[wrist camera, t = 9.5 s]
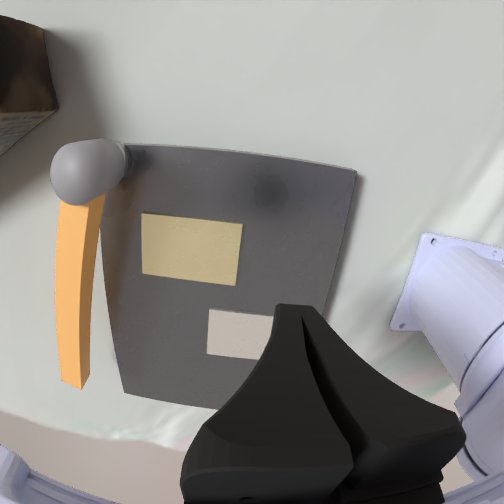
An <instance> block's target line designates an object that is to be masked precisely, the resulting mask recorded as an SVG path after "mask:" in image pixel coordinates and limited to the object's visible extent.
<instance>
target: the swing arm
mask: <svg viewBox="0 0 504 504" xmlns="http://www.w3.org/2000/svg"><path fill="white" fill-rule="evenodd" d="M124 170H125V160H124V156H123V153H122V151H121V149H120V148H119V146H118V145H117V144H116V143H115V142H113V141H112V140H109V139H106V138H97V139H91V140H84V141H79V142H73V143H69V144H66V145H64V146H63V147H61V148H60V149H59V150H58V151H57V153H56V154H55V156H54V158H53V160H52V163H51V169H50V178H51V183H52V186H53V189H54V191H55V193H56V194H57V196H58V197H59V198H60V208H59V217H58V228H57V241H56V261H55V312H56V331H57V345H58V355H59V364H60V372H61V380H62V381H64V382H66V383H68V384H70V385H72V386H74V387H76V388H78V389H80V390H82V388H83V386H84V384H85V383H86V381H87V379H88V377H89V375H90V320H91V302H92V288H93V277H94V267H95V258H96V250H97V243H98V236H99V229H100V223H101V217H102V211H103V205H104V200H105V195H106V192H108V191H110V190H112V189H113V188H115V187H116V186H117V185H118V184H119V182H120V181H121V179H122V177H123V174H124Z"/></svg>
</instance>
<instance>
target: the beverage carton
mask: <svg viewBox="0 0 504 504" xmlns="http://www.w3.org/2000/svg"><path fill="white" fill-rule="evenodd" d="M57 110H58V105H57V101H56V97H55V92H54V89H53V86H52V82H51V76H50V71H49V67H48V59H47V54H46V48H45V42H44V34H43V29H42V28H40V27H38V26H35V25H32V24H29V23H26V22H24V21H20V20H16V19H14V18H10V17H6V16H2V15H0V156H1V155H2V154H3V153H4V152H6V151H7V150H8V149H9V148H10V147H11V146H12V145H14V144H15V143H16V142H17V141H18V140H20V139H21V138H22V137H23V136H24V135H25V134H27V133H28V132H29V131H30V130H32V129H33V128H34V127H35V126H37V125H38V124H39V123H41V122H42V121H44V120H45V119H46V118H47V117H48V116H49V115H51V114H52V113H54V112H56V111H57Z"/></svg>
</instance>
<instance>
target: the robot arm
mask: <svg viewBox="0 0 504 504" xmlns="http://www.w3.org/2000/svg"><path fill="white" fill-rule="evenodd" d="M433 238H434V241H433V242H432V243H431V240H432V239H433ZM493 252H494V253H493ZM503 258H504V250H503V249H502V248H499V247H495V246H491V245H486V244H482V243H477V242H473V241H468V240H464V239H459V238H454V237H449V236H445V235H440V234H435V233H430V232H425V233H424V234H423V235H422V236H421V238H420V241H419V245H418V248H417V251H416V254H415V258H414V261H413V264H412V267H411V270H410V273H409V275H408V278H407V281H406V284H405V287H404V289H403V292H402V295H401V297H400V300H399V303H398V305H397V308H396V310H395V313H394V315H393V318H392V320H391V323H390V327H391V329H392V330H394V331H422V332H423V334H424V335H425V337H426V338H427V340H428V341H429V343H430V344H431V346H432V347H433V349H434V351H435V352H436V354H437V355H438V357H439V358H440V360H441V362H442V363H443V365H444V366H445V368H446V370H447V371H448V373H449V375H450V376H451V378H452V379H453V381H454V383H455V384H456V386H457V388H458V389H459V391H460V395H459V397H458V399H457V400H456V401H455V403H454V404H455V406H456V408H457V410H458V412H459V414H460V417H459V418H458V417H457V415H456V413H455V412H453V411H450V410H447V409H445V408H442V407H440V406H437V405H435V404H432V403H430V402H428V401H426V400H424V399H422V398H420V397H418V396H416V395H414V394H412V393H410V392H408V391H406V390H405V389H403V388H401V387H400V386H398V385H397V384H395V383H393V382H392V381H390V380H389V379H387V378H386V377H384V376H383V375H382V374H380V373H379V372H378V371H376V370H375V369H374V368H373V367H371V366H370V365H369V364H368V363H366V362H365V361H364V360H363V359H362V358H361V357H359V356H358V355H357V354H356V353H355V352H354V351H353V350H352V349H351V348H350V347H349V346H348V345H347V344H346V343H345V342H344V341H343V340H342V339H341V338H340V337H339V336H338V335H337V333H336V332H335V331H334V330H333V329H332V328H331V327H330V326H329V324H328V323H327V322H326V321H325V320H324V319H323V317H322V316H321V315H320V314H319V313H318V311H317V310H316V309H315V308H314V307H313V306H310V305H296V304H283V303H279V304H277V305H276V306H275V312H274V318H273V324H272V330H271V335H270V338H269V340H268V343H267V345H266V347H265V349H264V351H263V353H262V355H261V357H260V359H259V360H258V362H257V364H256V365H255V367H254V369H253V370H252V372H251V373H250V374H249V376H248V377H247V379H246V380H245V382H244V383H243V384H242V385H241V387H240V388H239V389H238V390H237V391H236V392H235V394H234V395H233V396H232V397H231V398H230V399H229V400H228V401H227V402H226V404H225V405H224V406H223V407H222V408H221V409H219V410H218V411H217V412H216V413H215V414H214V415H213V416H212V417H210V418H209V419H208V420H207V421H206V422H205V423H204V424H203V425H202V427H201V428H200V430H199V431H198V433H197V435H196V436H195V438H194V440H193V442H192V443H191V445H190V447H189V449H188V451H187V453H186V456H185V458H184V461H183V465H182V471H181V478H180V487H181V491H182V494H183V498H184V504H504V263H503V262H502V261H503ZM402 323H403V324H402ZM401 324H402V325H401ZM400 325H401V326H400ZM455 456H457V459H458V461H459V463H460V465H461V467H462V468H463V470H464V471H465V472H466V473H467V475H468V476H469V477H471V478H472V479H473V480H474V481H475V482H473V483H471V484H468V485H466V486H464V487H461V488H459V489H456V490H454V491H451V492H448V493H446V494H443V493H442V490H441V487H440V484H439V482H441V481H442V480H443V475H442V472H441V469H442V468H443V467H444V466H445V465H446V464H447V463H448V462H449V461H451V460H452V459H453V458H454V457H455ZM0 504H119V503H116V502H113V501H109V500H106V499H103V498H100V497H97V496H94V495H91V494H88V493H86V492H83V491H80V490H78V489H75V488H73V487H70V486H68V485H65V484H63V483H61V482H58V481H56V480H54V479H52V478H49V477H47V476H45V475H43V474H41V473H39V472H37V471H34V470H33V469H31V468H30V467H29V465H28V464H27V463H26V462H25V461H24V460H23V459H22V458H21V457H20V456H19V455H17V454H16V453H14V452H13V451H11V450H9V449H8V448H6V447H4V446H2V445H1V444H0Z"/></svg>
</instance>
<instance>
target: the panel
mask: <svg viewBox="0 0 504 504" xmlns="http://www.w3.org/2000/svg"><path fill="white" fill-rule="evenodd" d="M113 142H115V143H116V144H117V145H118V146H119V148H120V149H121V151H122V153H123V156H124V160H125V170H124V174H123V177H122V179H121V181H120V182H119V184H118V185H117V186H116V187H115V188H113V189H112V190H110V191H108V192H106V195H105V200H104V205H103V211H102V217H101V223H100V233H101V248H102V261H103V271H104V281H105V290H106V298H107V305H108V312H109V319H110V325H111V331H112V337H113V342H114V348H115V353H116V358H117V363H118V367H119V372H120V376H121V381H122V385H123V389H124V393H128V394H132V395H136V396H141V397H145V398H150V399H155V400H160V401H166V402H171V403H177V404H183V405H189V406H196V407H203V408H210V409H218V410H219V409H221V408H222V407H223V406H224V405H225V404H226V402H227V401H228V400H229V399H230V398H231V397H232V396H233V395H234V394H235V392H236V391H237V390H238V389H239V388H240V387H241V385H242V384H243V383H244V382H245V380H246V379H247V377H248V376H249V374H250V373H251V372H252V370H253V369H254V367H255V365H256V364H257V362H258V360H259V359H260V357H261V355H262V353H263V351H264V349H265V347H266V345H267V343H268V340H269V338H270V335H271V330H272V324H273V318H274V312H275V306H276V305H277V304H279V303H283V304H296V305H310V306H313V307H314V308H315V309H316V310H317V311H318V313H319V314H320V315H321V316H322V314H323V310H324V307H325V303H326V300H327V296H328V293H329V289H330V285H331V282H332V278H333V274H334V270H335V266H336V263H337V259H338V255H339V251H340V247H341V242H342V238H343V234H344V230H345V225H346V221H347V216H348V212H349V207H350V203H351V198H352V193H353V188H354V183H355V178H356V173H357V171H355V170H353V169H350V168H345V167H340V166H335V165H330V164H324V163H319V162H313V161H307V160H301V159H295V158H288V157H281V156H275V155H267V154H260V153H252V152H243V151H235V150H225V149H215V148H204V147H192V146H177V145H160V144H135V143H121V142H118V141H113Z"/></svg>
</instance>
